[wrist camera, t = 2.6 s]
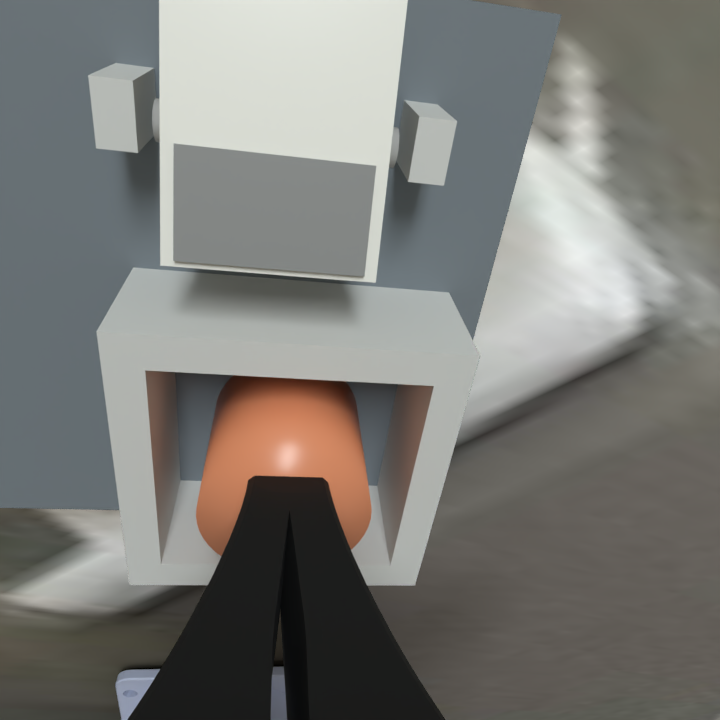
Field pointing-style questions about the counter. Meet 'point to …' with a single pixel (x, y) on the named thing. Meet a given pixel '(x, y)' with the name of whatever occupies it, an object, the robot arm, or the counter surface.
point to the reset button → (283, 449)
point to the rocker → (277, 133)
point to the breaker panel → (237, 280)
